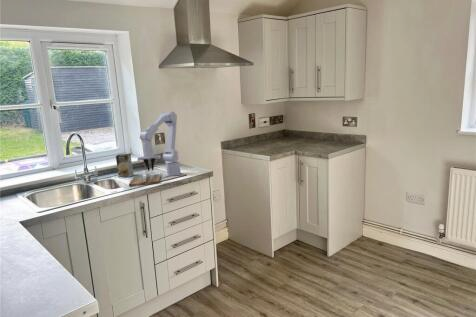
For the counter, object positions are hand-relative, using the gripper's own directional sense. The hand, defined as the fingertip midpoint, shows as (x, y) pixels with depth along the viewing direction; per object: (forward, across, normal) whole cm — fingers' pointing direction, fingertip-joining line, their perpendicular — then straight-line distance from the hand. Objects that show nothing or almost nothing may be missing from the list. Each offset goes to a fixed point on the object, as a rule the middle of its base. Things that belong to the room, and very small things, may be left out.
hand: (150, 170), depth 233 cm
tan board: (+8, -4, +7) cm, 12 cm away
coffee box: (+9, -22, +28) cm, 36 cm away
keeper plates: (+7, -5, +10) cm, 13 cm away
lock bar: (+7, -5, +2) cm, 8 cm away
